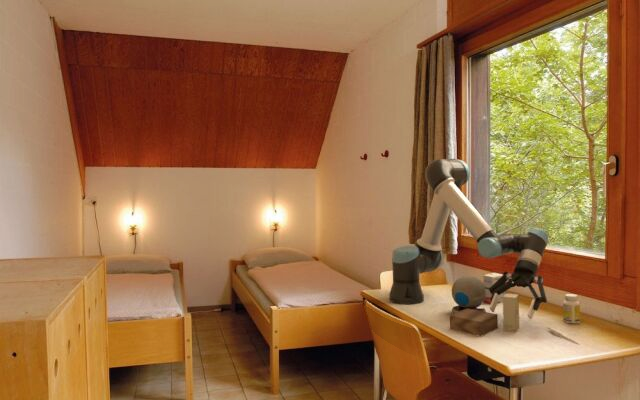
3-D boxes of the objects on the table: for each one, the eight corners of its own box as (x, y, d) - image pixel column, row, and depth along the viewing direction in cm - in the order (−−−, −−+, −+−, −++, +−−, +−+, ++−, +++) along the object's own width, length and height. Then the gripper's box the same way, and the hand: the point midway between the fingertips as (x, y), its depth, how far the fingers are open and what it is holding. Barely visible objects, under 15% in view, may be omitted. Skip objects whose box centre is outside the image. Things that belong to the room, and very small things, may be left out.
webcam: (491, 312, 190) (491, 275, 189) (477, 320, 180) (476, 280, 180) (461, 307, 199) (460, 271, 198) (445, 314, 189) (445, 276, 189)
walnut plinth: (449, 329, 171) (449, 315, 171) (467, 321, 179) (466, 308, 179) (480, 336, 162) (480, 321, 162) (497, 328, 170) (497, 314, 170)
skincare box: (516, 332, 165) (516, 298, 164) (502, 330, 167) (502, 296, 167) (519, 327, 170) (519, 294, 170) (506, 326, 173) (506, 292, 172)
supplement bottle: (578, 319, 177) (578, 293, 177) (581, 324, 172) (581, 297, 172) (562, 318, 179) (562, 293, 179) (564, 323, 174) (564, 296, 174)
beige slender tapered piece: (544, 330, 166) (544, 325, 166) (551, 330, 167) (551, 325, 167) (576, 347, 152) (576, 341, 152) (583, 346, 152) (583, 341, 152)
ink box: (492, 304, 202) (492, 276, 201) (482, 302, 206) (482, 274, 205) (505, 301, 206) (505, 274, 206) (495, 299, 210) (495, 272, 210)
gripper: (566, 274, 170) (549, 326, 160) (498, 267, 188) (480, 312, 178) (560, 262, 166) (543, 314, 156) (492, 255, 184) (473, 301, 174)
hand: (509, 313), depth 167 cm, fingers open, 13 cm apart
